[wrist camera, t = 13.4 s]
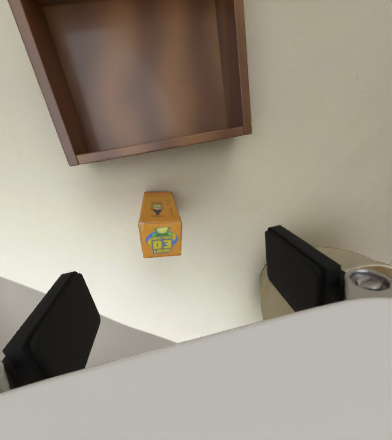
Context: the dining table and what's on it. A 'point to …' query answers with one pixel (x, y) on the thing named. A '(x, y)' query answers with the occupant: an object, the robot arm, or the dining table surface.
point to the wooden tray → (138, 72)
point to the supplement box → (160, 225)
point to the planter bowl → (348, 260)
